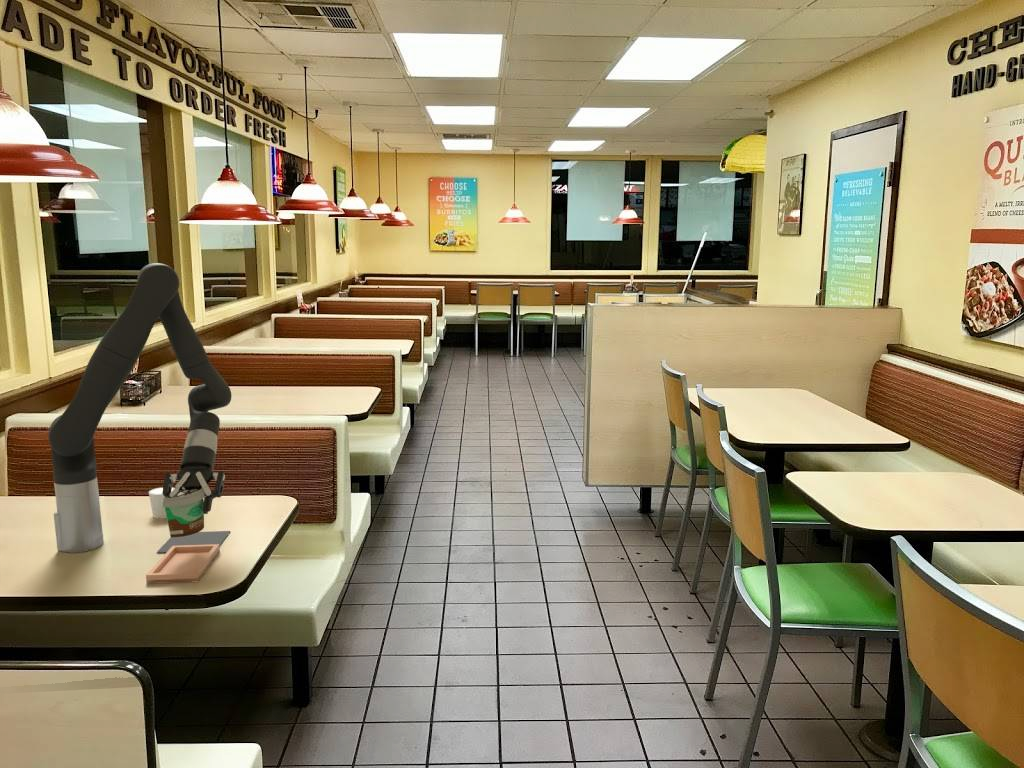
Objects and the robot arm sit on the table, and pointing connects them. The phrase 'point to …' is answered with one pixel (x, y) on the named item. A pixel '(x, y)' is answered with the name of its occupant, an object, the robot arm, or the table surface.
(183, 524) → the food container
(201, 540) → the mat
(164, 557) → the dish
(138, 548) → the table surface
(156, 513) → the white cup
